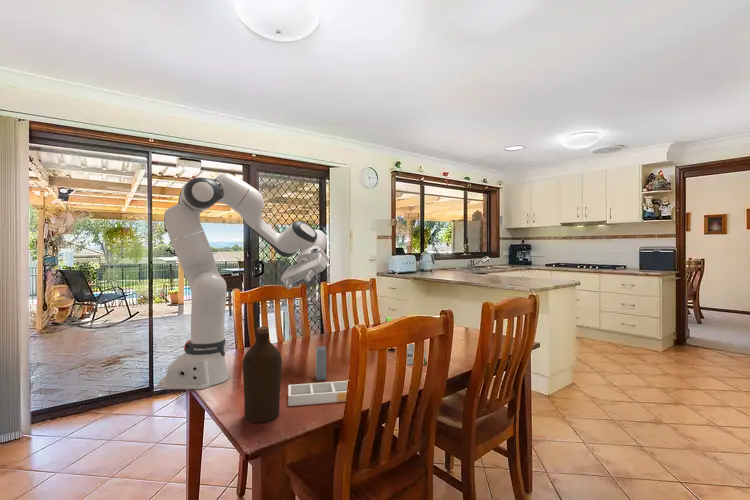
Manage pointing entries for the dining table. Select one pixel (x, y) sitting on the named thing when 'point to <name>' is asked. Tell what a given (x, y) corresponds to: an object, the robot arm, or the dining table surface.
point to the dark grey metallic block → (321, 363)
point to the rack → (317, 393)
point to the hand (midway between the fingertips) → (297, 284)
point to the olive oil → (262, 379)
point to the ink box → (411, 351)
